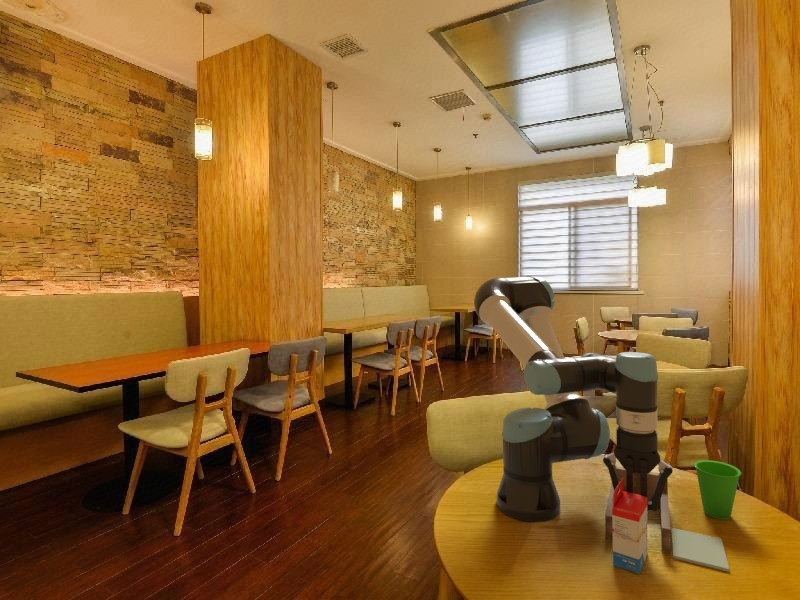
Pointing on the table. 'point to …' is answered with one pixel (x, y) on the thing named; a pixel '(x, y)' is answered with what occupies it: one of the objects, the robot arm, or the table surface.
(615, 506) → the ink box
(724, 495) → the cup
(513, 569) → the table surface
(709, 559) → the pad
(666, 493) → the slot
